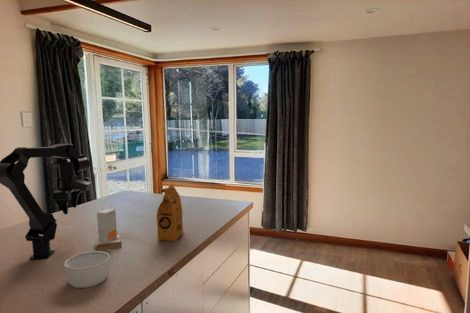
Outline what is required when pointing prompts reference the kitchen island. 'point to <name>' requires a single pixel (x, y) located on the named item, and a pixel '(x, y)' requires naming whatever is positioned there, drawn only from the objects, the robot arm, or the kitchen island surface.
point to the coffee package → (170, 215)
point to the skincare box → (107, 225)
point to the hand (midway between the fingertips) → (70, 210)
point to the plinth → (109, 244)
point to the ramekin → (87, 268)
